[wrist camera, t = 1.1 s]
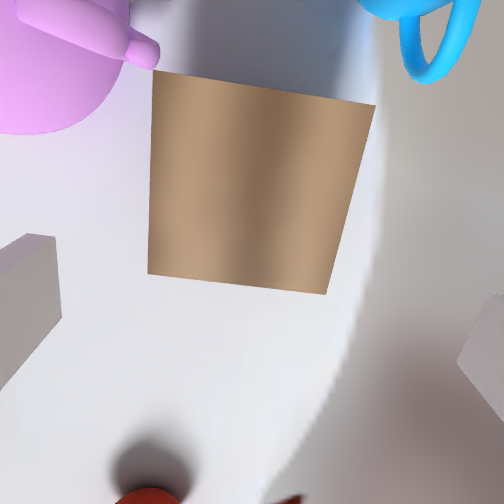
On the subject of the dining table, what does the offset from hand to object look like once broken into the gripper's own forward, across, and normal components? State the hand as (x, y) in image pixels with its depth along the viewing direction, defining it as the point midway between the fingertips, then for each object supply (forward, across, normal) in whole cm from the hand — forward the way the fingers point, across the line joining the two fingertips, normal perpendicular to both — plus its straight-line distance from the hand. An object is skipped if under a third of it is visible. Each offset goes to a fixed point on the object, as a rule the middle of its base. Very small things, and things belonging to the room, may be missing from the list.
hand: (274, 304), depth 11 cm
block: (+13, -1, +1) cm, 13 cm away
